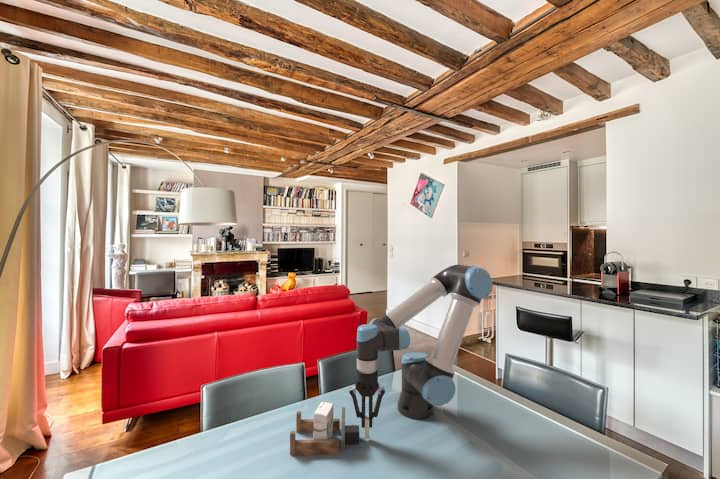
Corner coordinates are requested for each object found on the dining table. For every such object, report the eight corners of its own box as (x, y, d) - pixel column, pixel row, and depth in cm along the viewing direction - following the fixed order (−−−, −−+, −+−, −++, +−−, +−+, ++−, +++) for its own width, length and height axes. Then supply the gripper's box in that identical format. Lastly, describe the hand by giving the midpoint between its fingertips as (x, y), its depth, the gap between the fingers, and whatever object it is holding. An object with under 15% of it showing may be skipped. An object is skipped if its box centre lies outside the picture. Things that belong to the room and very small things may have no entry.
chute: (339, 429, 115) (339, 410, 115) (338, 454, 102) (338, 433, 102) (297, 430, 115) (297, 411, 115) (289, 455, 101) (290, 433, 101)
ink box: (326, 450, 104) (326, 415, 104) (312, 448, 105) (312, 413, 105) (333, 434, 112) (334, 402, 112) (320, 433, 113) (320, 400, 113)
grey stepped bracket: (358, 431, 114) (358, 407, 114) (359, 449, 104) (359, 422, 104) (342, 431, 113) (342, 407, 113) (341, 449, 104) (341, 422, 104)
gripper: (384, 365, 113) (383, 429, 113) (348, 365, 113) (348, 429, 112) (386, 373, 105) (386, 442, 105) (348, 374, 105) (348, 443, 105)
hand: (366, 435), depth 109 cm, fingers closed
